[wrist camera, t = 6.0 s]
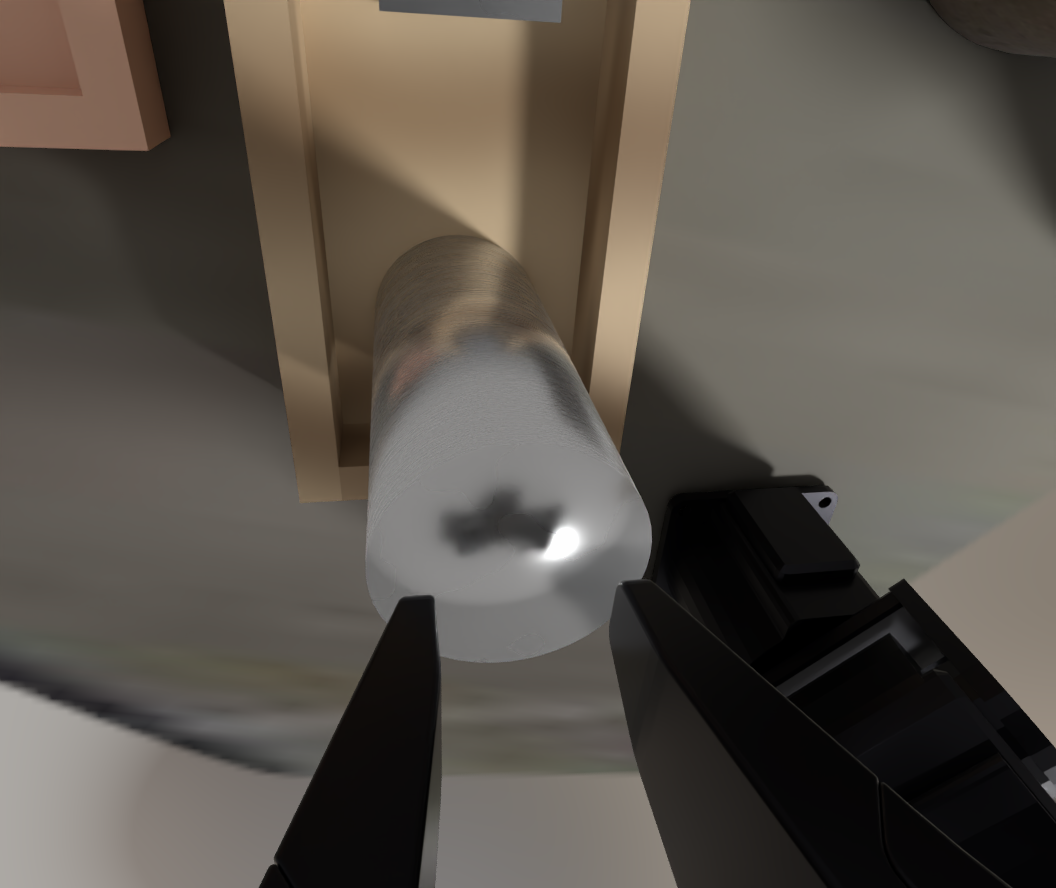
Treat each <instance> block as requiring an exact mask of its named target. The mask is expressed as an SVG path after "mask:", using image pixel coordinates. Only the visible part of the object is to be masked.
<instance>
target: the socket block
mask: <svg viewBox="0 0 1056 888" xmlns="http://www.w3.org/2000/svg"><path fill="white" fill-rule="evenodd" d="M690 1H691V0H562V14H561V23H554V22H539V21H524V20H508V19H493V18H478V17H463V16H448V15H432V14H417V13H402V12H387V11H379V0H224V6H225V13H226V19H227V26H228V32H229V39H230V45H231V52H232V59H233V65H234V72H235V78H236V85H237V91H238V98H239V104H240V111H241V118H242V124H243V131H244V137H245V144H246V150H247V157H248V164H249V170H250V177H251V183H252V190H253V196H254V203H255V210H256V216H257V223H258V229H259V236H260V242H261V249H262V256H263V262H264V269H265V275H266V282H267V288H268V295H269V302H270V308H271V315H272V321H273V328H274V334H275V341H276V348H277V354H278V361H279V367H280V374H281V380H282V387H283V394H284V400H285V407H286V413H287V420H288V426H289V433H290V439H291V446H292V453H293V459H294V466H295V472H296V479H297V485H298V492H299V499H300V503H307V502H326V501H344V500H363V499H368V483H369V456H370V429H371V402H372V375H373V348H374V321H375V304H376V297H377V293H378V290H379V287H380V285H381V282H382V280H383V278H384V276H385V275H386V273H387V271H388V270H389V268H390V267H391V266H392V265H393V264H394V262H395V261H396V260H397V259H398V258H399V257H400V256H402V255H403V254H404V253H405V252H406V251H408V250H409V249H411V248H412V247H414V246H416V245H418V244H420V243H422V242H424V241H427V240H430V239H433V238H436V237H441V236H447V235H466V236H473V237H477V238H481V239H484V240H487V241H490V242H492V243H494V244H496V245H498V246H500V247H501V248H503V249H504V250H506V251H507V252H509V253H510V254H511V255H512V256H513V257H514V258H515V259H516V260H517V261H518V262H519V263H520V265H521V266H522V267H523V268H524V270H525V271H526V273H527V275H528V276H529V278H530V280H531V282H532V284H533V286H534V288H535V290H536V292H537V294H538V296H539V298H540V300H541V302H542V304H543V306H544V308H545V310H546V312H547V314H548V315H549V317H550V319H551V321H552V323H553V325H554V327H555V329H556V331H557V333H558V335H559V337H560V339H561V341H562V343H563V345H564V347H565V349H566V351H567V353H568V355H569V357H570V359H571V361H572V363H573V365H574V367H575V368H576V370H577V372H578V374H579V376H580V378H581V380H582V382H583V384H584V386H585V388H586V390H587V392H588V394H589V396H590V398H591V400H592V402H593V404H594V406H595V408H596V410H597V412H598V414H599V416H600V418H601V420H602V422H603V423H604V425H605V427H606V429H607V431H608V433H609V435H610V437H611V439H612V441H613V443H614V445H615V447H616V449H617V451H618V453H619V454H620V448H621V442H622V435H623V429H624V422H625V416H626V410H627V403H628V397H629V390H630V384H631V378H632V371H633V365H634V359H635V352H636V346H637V339H638V333H639V327H640V320H641V314H642V307H643V301H644V295H645V288H646V282H647V275H648V269H649V263H650V256H651V250H652V244H653V237H654V231H655V224H656V218H657V212H658V205H659V199H660V192H661V186H662V180H663V173H664V167H665V161H666V154H667V148H668V141H669V135H670V129H671V122H672V116H673V109H674V103H675V97H676V90H677V84H678V77H679V71H680V65H681V58H682V52H683V46H684V39H685V33H686V26H687V20H688V14H689V7H690Z"/></svg>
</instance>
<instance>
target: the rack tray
mask: <svg viewBox="0 0 1056 888" xmlns="http://www.w3.org/2000/svg"><path fill="white" fill-rule="evenodd" d="M169 137H171V135H170V130H169V125H168V121H167V116H166V111H165V106H164V101H163V96H162V91H161V87H160V82H159V77H158V72H157V67H156V62H155V57H154V53H153V48H152V43H151V38H150V33H149V28H148V23H147V19H146V14H145V9H144V4H143V0H0V147H32V148H66V149H99V150H133V151H149V150H151V149H152V148H154V147H155V146H157V145H158V144H160V143H162V142H163V141H165V140H166V139H168V138H169Z"/></svg>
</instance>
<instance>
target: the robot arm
mask: <svg viewBox="0 0 1056 888" xmlns="http://www.w3.org/2000/svg"><path fill="white" fill-rule="evenodd" d="M823 498H824V499H823ZM821 499H823V500H821ZM820 500H821V501H820ZM837 500H838V497H837V494H836V493H835V492H834V491H833V490H832V489H831V488H830V487H829V486H824V485H821V486H803V487H785V488H768V489H750V490H734V491H716V492H699V493H683V494H678V495H676V496H674V497H673V498H672V499H671V500H670V501H669V503H668V505H667V510H666V515H665V519H664V524H663V529H662V533H661V538H660V543H659V548H658V552H657V557H656V562H655V566H654V571H653V576H652V581H651V580H648V579H637V580H624V581H621V582H620V583H619V584H618V585H617V587H616V591H615V597H614V602H613V607H612V613H611V618H610V624H609V639H610V645H611V650H612V655H613V660H614V664H615V669H616V674H617V678H618V683H619V688H620V692H621V697H622V702H623V706H624V711H625V716H626V720H627V725H628V730H629V735H630V739H631V743H632V748H633V752H634V756H635V759H636V763H637V766H638V769H639V773H640V776H641V779H642V782H643V785H644V788H645V790H646V794H647V797H648V800H649V803H650V806H651V809H652V812H653V815H654V818H655V821H656V824H657V827H658V830H659V833H660V836H661V839H662V842H663V845H664V848H665V851H666V854H667V857H668V860H669V863H670V866H671V869H672V872H673V875H674V878H675V881H676V884H677V887H678V888H1056V748H1055V747H1054V746H1053V745H1052V744H1051V743H1050V741H1049V740H1048V739H1047V738H1046V737H1045V735H1044V734H1043V733H1042V732H1041V731H1040V730H1039V728H1038V727H1037V726H1036V725H1035V724H1034V723H1033V721H1032V720H1031V719H1030V718H1029V717H1028V716H1027V714H1026V713H1025V712H1024V711H1023V710H1022V709H1021V708H1020V706H1019V705H1018V704H1017V703H1016V702H1015V701H1014V700H1013V698H1012V697H1011V696H1010V695H1009V694H1008V693H1007V692H1006V690H1005V689H1004V688H1003V687H1002V686H1001V685H1000V684H999V683H998V682H997V680H996V679H995V678H994V677H993V676H992V675H991V674H990V672H989V671H988V670H987V669H986V668H985V667H984V666H983V665H982V664H981V662H980V661H979V660H978V659H977V658H976V657H975V656H974V655H973V654H972V653H971V652H970V651H969V649H968V648H967V647H966V646H965V645H964V644H963V643H962V642H961V641H960V639H959V638H957V636H956V635H955V634H954V633H953V632H952V631H951V630H950V629H949V627H948V626H947V625H946V624H945V623H944V622H943V621H942V620H941V619H940V618H939V616H938V615H937V614H936V613H935V612H934V611H933V610H932V609H931V608H930V607H929V606H928V604H927V603H926V602H925V601H924V600H923V599H922V598H921V597H920V596H919V595H918V593H917V592H916V591H915V590H914V589H913V588H912V587H911V586H910V585H909V584H908V583H907V581H906V580H905V579H902V580H901V581H899V582H898V583H896V584H895V585H893V586H892V587H890V588H888V589H889V590H890V592H888V593H887V594H885V595H884V596H882V597H879V596H878V595H877V594H876V592H875V591H874V590H873V589H872V588H871V586H870V585H869V584H868V583H867V581H866V580H865V579H864V578H863V577H862V575H861V574H860V573H859V572H858V569H859V567H860V564H859V562H858V560H857V559H856V558H855V557H854V556H853V554H852V553H851V552H850V551H849V550H848V548H847V547H846V546H845V545H844V544H843V542H842V541H841V540H840V539H839V537H838V536H837V535H836V534H835V533H834V531H833V530H832V529H831V528H830V527H829V522H830V520H831V517H832V514H833V512H834V509H835V506H836V504H837ZM683 506H686V507H685V508H684V509H682V510H679V509H680V508H681V507H683ZM441 781H442V751H441V662H440V650H439V639H438V627H437V616H436V604H435V598H434V597H433V596H432V595H415V596H404V597H402V598H401V599H400V600H399V601H398V603H397V605H396V607H395V609H394V611H393V613H392V615H391V617H390V619H389V621H388V623H387V626H386V628H385V630H384V632H383V634H382V636H381V638H380V640H379V642H378V644H377V646H376V648H375V650H374V652H373V654H372V656H371V658H370V661H369V663H368V665H367V667H366V669H365V671H364V673H363V675H362V677H361V679H360V681H359V683H358V685H357V687H356V689H355V691H354V693H353V696H352V698H351V700H350V702H349V704H348V706H347V708H346V710H345V712H344V714H343V716H342V718H341V720H340V722H339V724H338V726H337V728H336V731H335V733H334V735H333V737H332V739H331V741H330V743H329V745H328V747H327V749H326V751H325V753H324V755H323V757H322V759H321V761H320V763H319V766H318V768H317V770H316V772H315V774H314V776H313V778H312V780H311V782H310V784H309V786H308V788H307V790H306V792H305V794H304V796H303V799H302V801H301V803H300V805H299V807H298V809H297V811H296V813H295V815H294V817H293V819H292V821H291V823H290V825H289V827H288V829H287V831H286V833H285V836H284V838H283V840H282V842H281V844H280V846H279V848H278V850H277V852H276V854H275V856H274V862H275V864H273V865H271V866H270V867H269V868H268V870H267V872H266V874H265V876H264V878H263V880H262V883H261V884H260V886H259V888H435V881H436V866H437V851H438V834H439V820H440V804H441Z"/></svg>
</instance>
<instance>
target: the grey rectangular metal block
mask: <svg viewBox="0 0 1056 888" xmlns="http://www.w3.org/2000/svg"><path fill="white" fill-rule="evenodd" d="M379 11H387V12H402V13H417V14H432V15H448V16H463V17H478V18H493V19H508V20H524V21H539V22H554V23H561V14H562V0H379Z"/></svg>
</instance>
